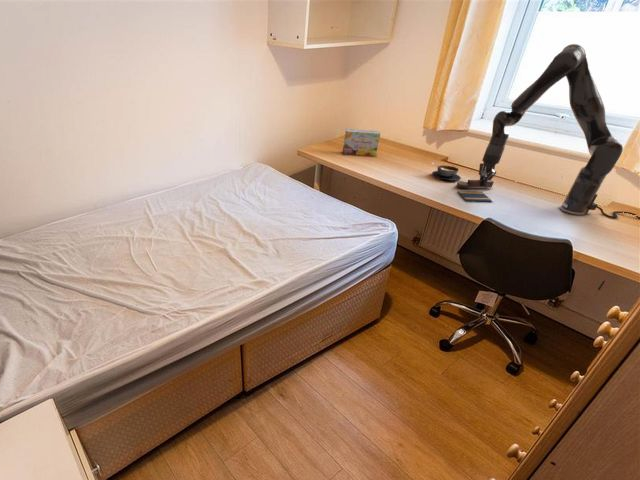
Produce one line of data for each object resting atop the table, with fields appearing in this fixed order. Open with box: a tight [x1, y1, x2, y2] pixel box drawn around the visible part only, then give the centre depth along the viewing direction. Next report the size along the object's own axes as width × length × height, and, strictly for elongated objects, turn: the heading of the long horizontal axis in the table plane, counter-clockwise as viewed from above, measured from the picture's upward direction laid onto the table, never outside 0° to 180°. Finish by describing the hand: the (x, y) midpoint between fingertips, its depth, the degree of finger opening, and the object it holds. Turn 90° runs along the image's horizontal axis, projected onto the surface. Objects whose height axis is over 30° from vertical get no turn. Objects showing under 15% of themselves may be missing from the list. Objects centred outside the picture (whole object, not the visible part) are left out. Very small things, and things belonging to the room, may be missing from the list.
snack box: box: [342, 128, 381, 158], centre depth 243 cm, size 21×6×15 cm, turn 75°
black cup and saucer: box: [431, 162, 462, 181], centre depth 211 cm, size 15×16×7 cm
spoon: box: [456, 179, 495, 189], centre depth 199 cm, size 17×6×3 cm, turn 85°
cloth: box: [456, 190, 493, 203], centre depth 190 cm, size 12×11×1 cm
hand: (481, 185), depth 199 cm, fingers closed on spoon, 2 cm apart
